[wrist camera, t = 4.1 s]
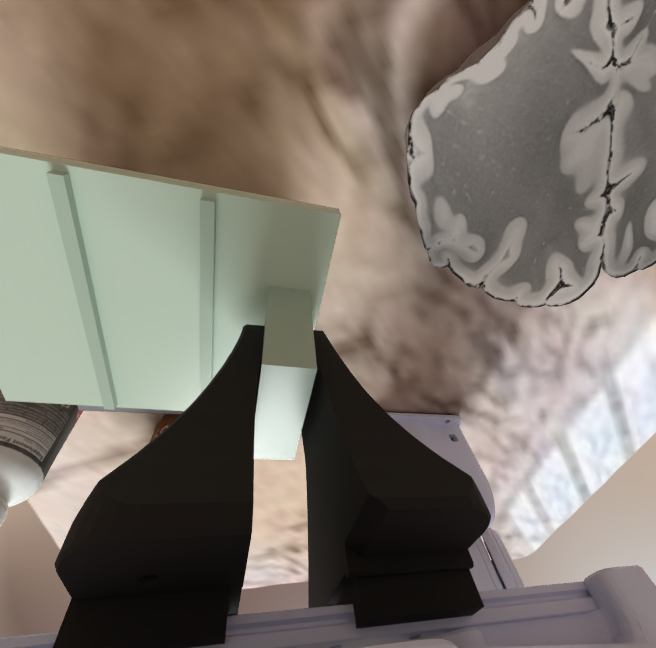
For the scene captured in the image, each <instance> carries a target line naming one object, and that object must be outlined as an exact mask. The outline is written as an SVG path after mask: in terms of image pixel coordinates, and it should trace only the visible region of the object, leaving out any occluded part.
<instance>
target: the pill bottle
mask: <svg viewBox="0 0 656 648" xmlns="http://www.w3.org/2000/svg"><path fill="white" fill-rule="evenodd" d="M82 412H83V411H79V409H78V406H77V405H69V404H52V403H35V402H18V401H6V400H5V398H4V396H3V394H2V392H1V390H0V527H1V525H2V523H3V522H4V521H5V519H6V516H7V512H8V510H9V507H10V506H14V505H16V504H19V503H21V502H23V501H25V500H26V499H28V498H29V497H30V496H31V495H33V494H34V493H35V491H36V490H37V489H38V487H39V486H40V485H41V483H42V482H43V480H44V479H45V477H46V474H47V473H48V471H49V469H50V467H51V465H52V464H53V462H54V460H55V458H56V456H57V455H58V453H59V451H60V449H61V448H62V446H63V444H64V442H65V441H66V439H67V437H68V436H69V434H70V432H71V431H72V429H73V427H74V425H75V424H76V422H77V420H78V419H79V417H80V415H81V414H82Z"/></svg>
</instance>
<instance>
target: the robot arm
mask: <svg viewBox="0 0 656 648" xmlns="http://www.w3.org/2000/svg"><path fill="white" fill-rule="evenodd" d="M264 329H265V326H261V325H250V324H246V325H245V326H243V329H242V332H241V334H240V337H239V339H238V341H237V343H236V345H235V347H234V348H233V350H232V352H231V353H230V355H229V356H228V358H227V360H226V361H225V363H224V364H223V366H222V367H221V369H220V370H219V371H218V373H217V374H216V375H215V377H214V378H213V379H212V381H211V382H210V383H209V384H208V386H207V387H206V388H205V389H204V391H203V392H202V393H201V394H200V395H199V396H198V397H197V398H196V400H195V401H194V402H193V403H192V404H191V405H190V406H189V407H188V408H187V409H186V410H185V411H184V412H183V413H182V414H181V415H180V416H179V417H178V418H177V419H176V420H175V421H174V422H173V423H172V424H171V425H170V426H169V427H167V428H166V429H165V430H164V431H163V432H162V433H160V434H159V435H158V436H157V437H156V438H155V439H153V440H152V441H151V442H150V443H149V444H148V445H146V446H145V447H144V448H143V449H141V450H140V451H139V452H138V453H136V454H135V455H134V456H132V457H131V458H130V459H128V460H127V461H126V462H124V463H123V464H122V465H120V466H119V467H117V468H116V469H115V470H113V471H112V472H111V473H109V474H108V475H107V476H105V477H104V478H102V479H101V480H100V481H99V482H98V483H97V485H96V486H95V488H94V489H93V491H92V492H91V494H90V495H89V497H88V498H87V500H86V501H85V503H84V505H83V506H82V508H81V509H80V511H79V513H78V514H77V516H76V518H75V520H74V522H73V523H72V525H71V528H70V530H69V532H68V534H67V537H66V539H65V541H64V543H63V546H62V548H61V550H60V552H59V555H58V557H57V559H56V562H55V568H56V572H57V574H58V575H59V577H60V579H61V580H62V582H63V584H64V586H65V587H66V589H67V591H68V592H69V594H70V596H71V597H72V599H71V602H70V604H69V607H68V609H67V612H66V614H65V617H64V620H63V622H62V625H61V627H60V630H59V632H56V633H46V634H35V635H25V636H15V637H5V638H0V648H656V586H655V584H654V583H653V582H652V581H651V579H650V578H649V577H648V575H647V574H646V573H645V571H644V570H643V569H642V568H641V567H639V566H625V567H613V568H606V569H602V570H599V571H597V572H595V573H593V574H591V575H590V576H588V577H587V578H585V580H584V581H583V582H574V583H563V584H552V585H542V586H533V587H524V584H523V582H522V580H521V578H520V576H519V574H518V572H517V570H516V568H515V566H514V564H513V562H512V560H511V558H510V556H509V554H508V552H507V550H506V548H505V546H504V544H503V542H502V540H501V538H500V537H499V535H498V533H497V532H496V531H495V530H493V529H491V527H492V525H493V521H494V517H495V505H494V499H493V494H492V490H491V487H490V485H489V482H488V480H487V478H486V476H485V474H484V473H483V471H482V469H481V467H480V465H479V463H478V461H477V459H476V458H475V456H474V454H473V452H472V450H471V448H470V446H469V444H468V443H467V441H466V439H465V437H464V435H463V433H462V431H461V430H460V428H459V425H460V423H461V421H462V419H461V417H460V416H458V415H436V414H413V413H390V412H385V411H384V410H383V409H382V408H381V407H380V406H379V405H378V404H377V403H376V402H375V401H374V400H373V398H372V397H371V396H370V395H369V394H368V393H367V392H366V391H365V390H364V388H363V387H362V386H361V385H360V383H359V382H358V381H357V380H356V378H355V377H354V376H353V375H352V373H351V372H350V371H349V369H348V368H347V366H346V365H345V364H344V362H343V361H342V359H341V358H340V357H339V355H338V354H337V352H336V351H335V349H334V348H333V346H332V344H331V343H330V341H329V340H328V338H327V337H326V335H325V334H324V332H323V331H317V330H313V332H314V342H315V352H316V362H317V372H316V376H315V380H314V384H313V388H312V392H311V396H310V400H309V403H308V407H307V411H306V415H305V419H304V423H303V427H302V438H303V446H304V453H305V462H306V479H307V508H308V560H309V608H304V609H295V610H285V611H273V612H263V613H252V614H242V615H237V614H238V608H239V602H240V595H241V589H242V587H243V582H244V576H245V570H246V564H247V558H248V552H249V546H250V540H251V534H252V518H253V479H254V431H255V407H256V400H257V392H258V384H259V376H260V368H261V360H262V352H263V341H264ZM481 536H482V537H483V539H484V543H485V546H486V548H487V550H488V552H489V555H490V557H491V559H492V560H490V558H489V555H488V553H487V551H486V549H485V547H484V544H483V542H482V540H481V538H480V537H481Z"/></svg>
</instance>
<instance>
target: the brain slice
mask: <svg viewBox="0 0 656 648" xmlns="http://www.w3.org/2000/svg"><path fill="white" fill-rule="evenodd" d="M405 142H406V151H407V178H408V184H409V189H410V194H411V198H412V200H413V202H414V204H415V208H416V215H417V220H418V224H419V228H420V232H421V236H422V240H423V244H424V247H425V249H427V250H428V256H429V260H430V262H431V263H432V264H433V265H434V266H435V267H437V268H444V267H447V266H448V267H449V268H450V270H451V271H452V272H453V274H455V275H456V276H457V277H458V278H460V279H461V280H462V281H463V282H464V283H465V284H466V285H467V286H469V287H475V288H480V287H482V288H483V289H484V290H485V292H486V293H487V294H488V295H490V296H491V297H492V298H495V299H499V300H503V301H515V302H516V303H517V304H518V305H519V306H521V307H530V308H531V307H541V306H544V305H547V306H562V305H566V304H570V303H572V302H574V301H576V300H578V299H579V298H581V297H582V296H583V295H584V294H585V293H586V292H587V291H588V290H589V289H590V288H591V287H592V286H593V285H594V284H595V282H596V280H597V278H598V277H599V274H600V269H601V266H602V268H603V270H604V271H605V272H606V273H607V274H608V275H610V276H612V277H615V278H620V277H625V276H627V275H629V274H631V273H633V272H635V271H637V270H643V269H646V268H648V267H650V266H652V265H654V264H655V263H656V0H529V1H528V2H527V3H526V4H524V5H523V6H522V7H521V8H520V9H518V10H517V11H516V12H515V13H514V14H513V15H512V16H511V17H510V18H509V19H508V21H507V22H506V23H505V24H504V25H503V27H502V28H501V29H500V30H499V32H498V33H497V34H496V35H495V36H493V37H492V38H491V39H489V40H488V41H487V42H485V43H484V44H483V45H481V46H480V47H479V48H477V49H476V50H475V51H473V52H472V53H471V54H470V55H469V56H468V57H467V59H466V60H465V61H464V62H463V63H462V64H461V66H460V67H459V68H458V69H457V70H456V71H455V72H453V73H451V74H449V75H447V76H445V77H444V78H443V79H442V80H441V81H439V82H438V83H437V84H436V85H435V86H433V87H432V88H431V89H430V91H429V92H428V93H427V94H426V95H425V96H424V98H423V99H422V101H421V102H420V103H419V104H418V105H417V106H416V108H415V109H414V111H413V113H412V114H411V117H410V120H409V123H408V125H407V128H406V132H405Z"/></svg>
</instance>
